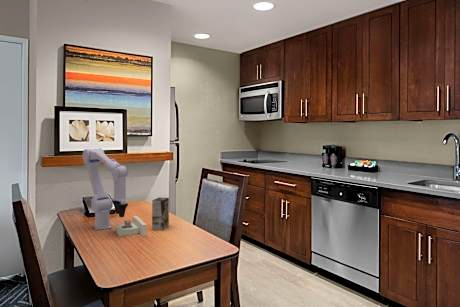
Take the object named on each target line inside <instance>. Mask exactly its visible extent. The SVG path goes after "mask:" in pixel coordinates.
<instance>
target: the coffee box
mask: <svg viewBox="0 0 460 307" xmlns="http://www.w3.org/2000/svg"><path fill="white" fill-rule="evenodd" d="M169 202H170V198H169V197H157V198H155V199H153V200H151V204H152V205H151V206H152V207H151V219H152V220H151V221H152V222H151V227H152V228H151V230H154V231H155V230H156V231H163V230H165V229H167V228H168V227H169V226H170V224H169V223H170V203H169Z"/></svg>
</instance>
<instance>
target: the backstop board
mask: <svg viewBox="0 0 460 307" xmlns="http://www.w3.org/2000/svg"><path fill="white" fill-rule="evenodd" d="M132 223H135V224H136V225H137V226H138V227H139V235H140V236H141V237H147V236H148V234H147V233H148V232H147V231H148V228H147V225H148V224H147V223H146V222H144V221H143V220H142V219H141V218H140V217H139V216H137V215H132Z"/></svg>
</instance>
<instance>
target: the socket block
mask: <svg viewBox="0 0 460 307" xmlns="http://www.w3.org/2000/svg"><path fill="white" fill-rule="evenodd" d="M114 231H116V234H117V236H118V237H124V236H132V234H133V235H139V234H140V233H139V227H138V226H137V225H136V224H135V223H133V222H132V223H131V228H125V223H124V224H115V225H114ZM138 233H139V234H138Z"/></svg>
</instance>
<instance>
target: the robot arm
mask: <svg viewBox="0 0 460 307" xmlns="http://www.w3.org/2000/svg"><path fill="white" fill-rule="evenodd" d="M82 160H83V164H84V166H85V167H86V169H87V174H88V177H89V180H90V184H91V188H92V191H93V197H92V198H91V199H90V202H91V206H90V207H91V210H92V211H93V212H94V217H95V218H94V223H95V224H93V225H92V226H93V228H94V229H95V231H99V230H106V229H112V226H111V225H110V211H112V210H111V209H113V206H114V210H115V211H114V212H115V215H118V217H119V218H124V217H125V213H126V210H127V207H128V205H129V203H127V202H126V200H127V197H126V196H127V195H126V194H127V193H126V192H127V191H126V188H127V186H126V180H127V179H126V178H127V176H128V174H129V170H128V168H127V166H126V165H121V164H120V163H119V162H118V161H116V159H115V158H109V157H108V156H107V154H105V150H103V149H102V148H84V150H83V151H82ZM102 163H103V164H104V168H106V169H107V170H108V171H109V172H110V174H111V176H112V181H113V197H112V198H111V196H110V195H109V194H108V193H106V192H105V190H104V186H103V183H102V179H101V176H100V175H101V174H100V172H99V169H98V166H99V165H100V164H102Z"/></svg>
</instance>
